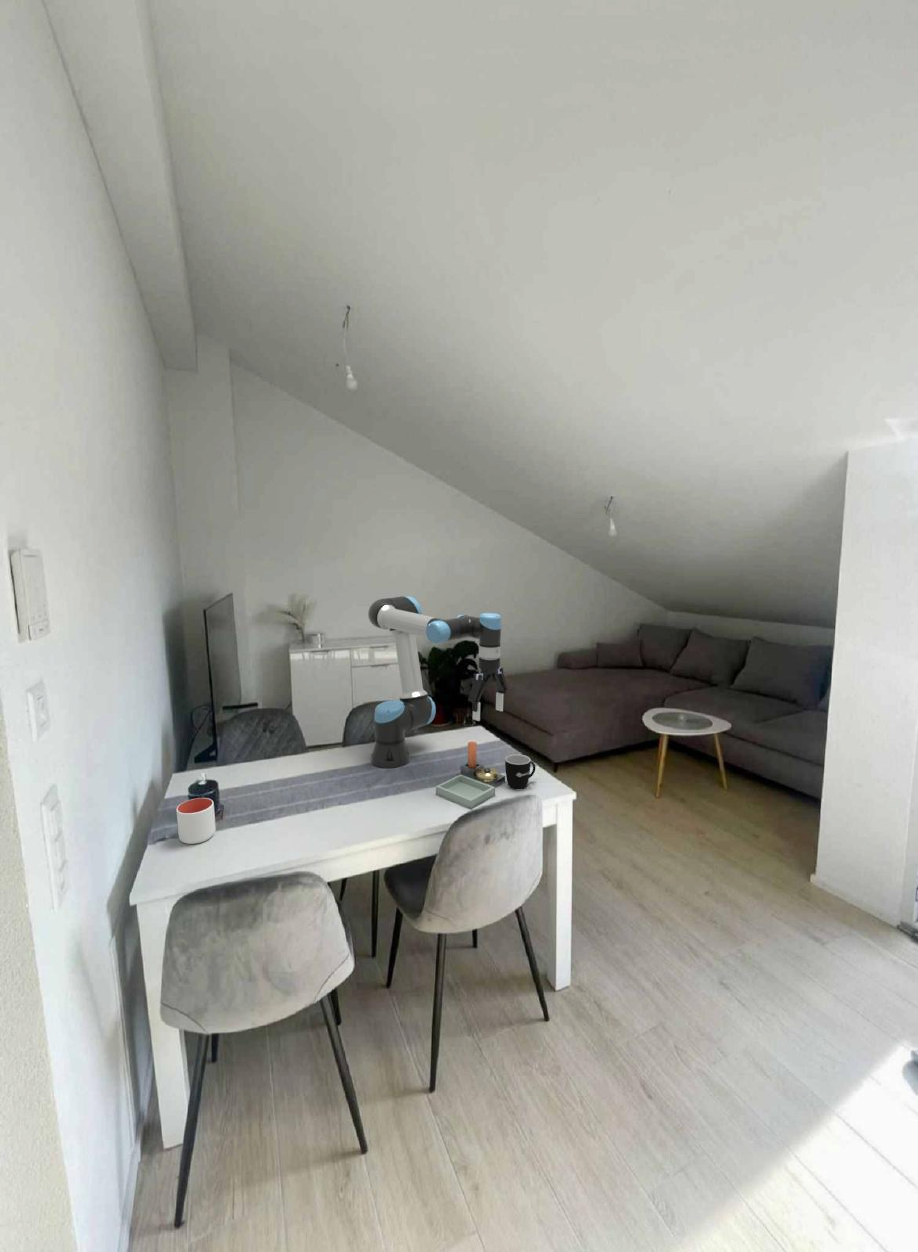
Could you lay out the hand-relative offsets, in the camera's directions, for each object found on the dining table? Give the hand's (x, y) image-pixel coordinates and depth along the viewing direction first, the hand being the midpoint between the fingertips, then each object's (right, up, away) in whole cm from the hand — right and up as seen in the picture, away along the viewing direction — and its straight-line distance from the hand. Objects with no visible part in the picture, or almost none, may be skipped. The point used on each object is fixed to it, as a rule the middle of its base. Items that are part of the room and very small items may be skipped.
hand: (488, 715), depth 200 cm
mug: (+12, -25, +1) cm, 28 cm away
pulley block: (-3, -25, +4) cm, 25 cm away
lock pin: (-6, -22, +6) cm, 23 cm away
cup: (-89, -31, -33) cm, 100 cm away
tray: (-8, -27, -7) cm, 29 cm away
